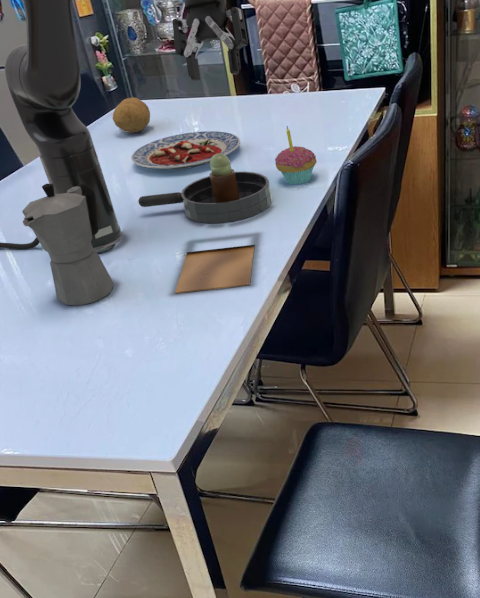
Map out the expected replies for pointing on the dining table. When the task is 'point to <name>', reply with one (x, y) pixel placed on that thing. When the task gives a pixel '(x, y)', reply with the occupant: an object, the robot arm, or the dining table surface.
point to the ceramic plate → (185, 150)
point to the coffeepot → (70, 243)
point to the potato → (131, 115)
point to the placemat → (216, 269)
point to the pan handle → (160, 199)
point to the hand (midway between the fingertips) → (215, 77)
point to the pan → (251, 201)
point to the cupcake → (295, 163)
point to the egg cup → (223, 179)
